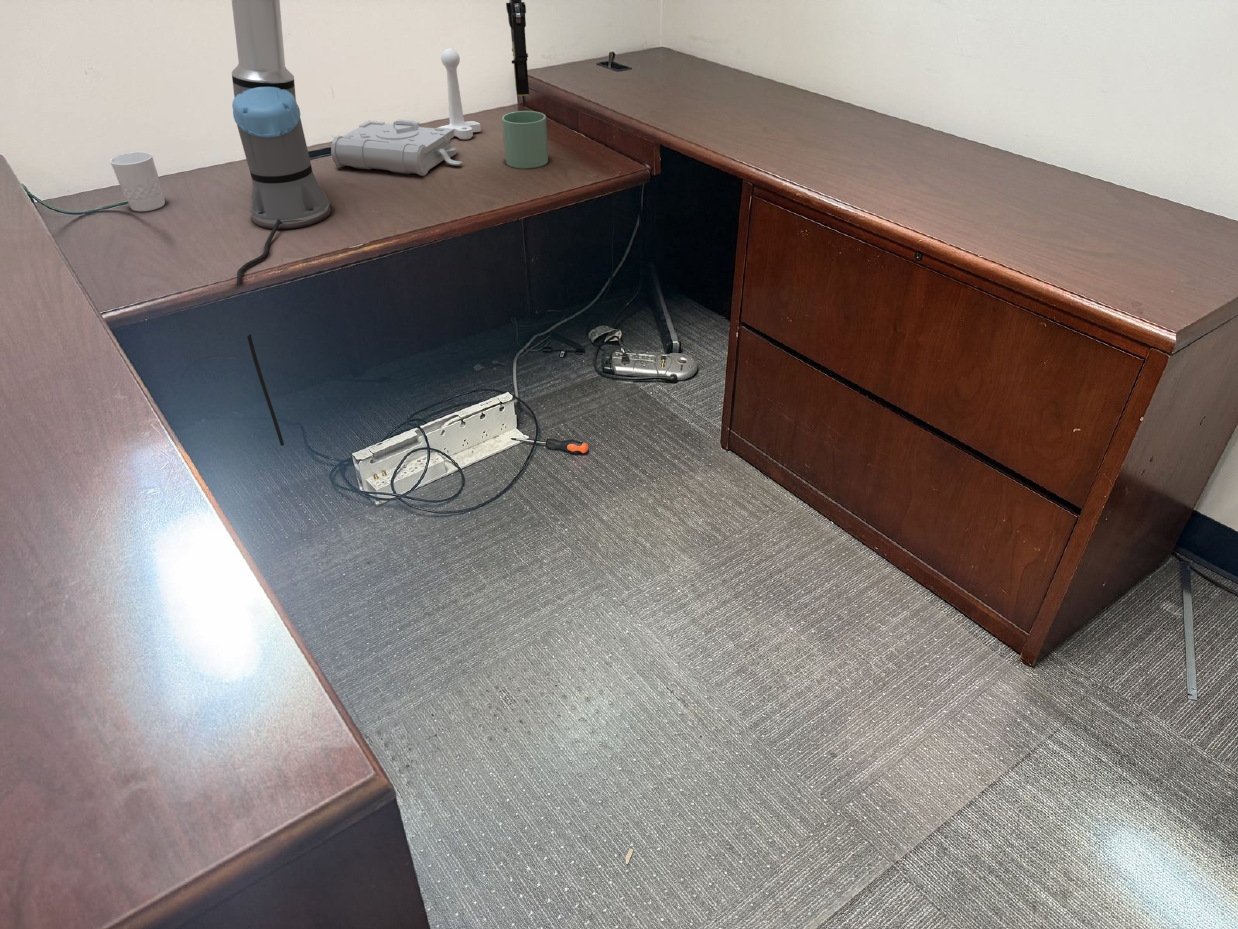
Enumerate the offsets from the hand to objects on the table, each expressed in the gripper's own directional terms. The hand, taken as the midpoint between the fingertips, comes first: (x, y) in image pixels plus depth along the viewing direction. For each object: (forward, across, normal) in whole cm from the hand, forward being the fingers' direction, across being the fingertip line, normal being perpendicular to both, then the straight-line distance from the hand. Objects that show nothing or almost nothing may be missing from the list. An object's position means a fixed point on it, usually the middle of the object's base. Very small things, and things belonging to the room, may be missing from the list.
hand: (522, 91), depth 189 cm
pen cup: (+15, 0, 0) cm, 15 cm away
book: (+16, +4, +28) cm, 33 cm away
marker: (+1, 0, 0) cm, 1 cm away
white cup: (+15, -14, +81) cm, 84 cm away
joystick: (+15, +22, +15) cm, 31 cm away
